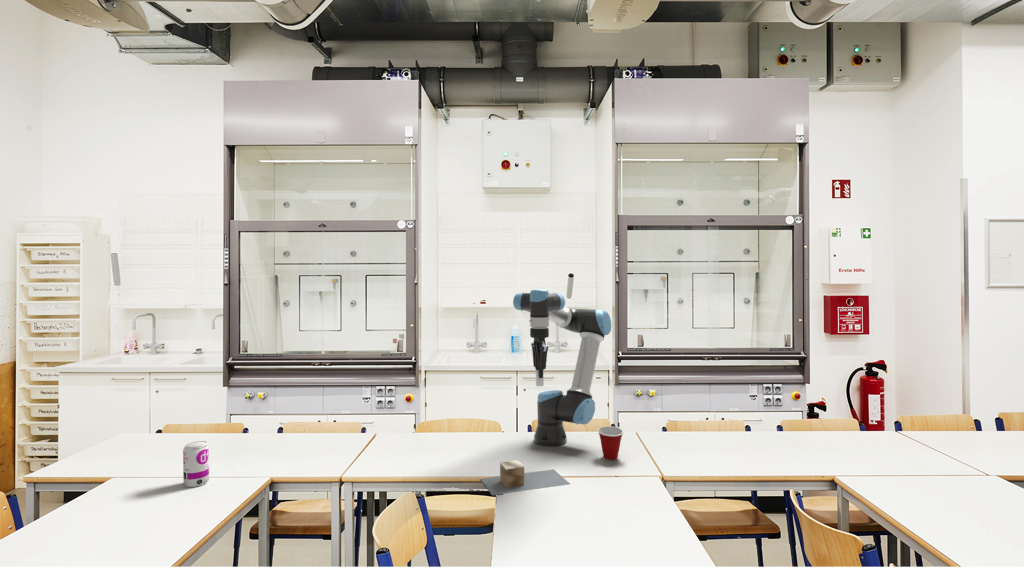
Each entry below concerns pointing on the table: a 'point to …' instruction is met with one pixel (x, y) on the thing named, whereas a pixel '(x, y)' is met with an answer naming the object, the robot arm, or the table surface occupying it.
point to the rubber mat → (526, 482)
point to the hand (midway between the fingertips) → (539, 385)
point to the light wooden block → (512, 473)
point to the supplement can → (196, 464)
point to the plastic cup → (610, 441)
